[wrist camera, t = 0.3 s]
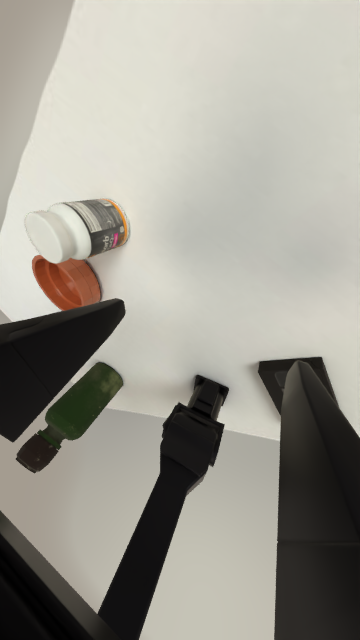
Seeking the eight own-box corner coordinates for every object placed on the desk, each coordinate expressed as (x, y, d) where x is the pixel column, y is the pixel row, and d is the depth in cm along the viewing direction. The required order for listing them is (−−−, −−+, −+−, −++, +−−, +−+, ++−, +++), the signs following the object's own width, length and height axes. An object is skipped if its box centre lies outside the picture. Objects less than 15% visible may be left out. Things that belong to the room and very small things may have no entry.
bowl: (108, 311, 37) (91, 323, 34) (68, 296, 41) (49, 306, 37) (94, 254, 30) (70, 263, 26) (46, 242, 33) (20, 249, 30)
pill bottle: (118, 252, 27) (58, 278, 20) (91, 218, 26) (17, 234, 19) (138, 227, 23) (72, 248, 16) (107, 186, 22) (21, 189, 15)
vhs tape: (289, 421, 32) (289, 432, 30) (259, 361, 27) (257, 371, 26) (346, 427, 27) (349, 441, 25) (321, 356, 22) (323, 368, 21)
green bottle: (117, 367, 50) (23, 470, 33) (127, 389, 56) (53, 486, 39) (91, 357, 55) (-4, 443, 37) (103, 379, 61) (26, 462, 43)
